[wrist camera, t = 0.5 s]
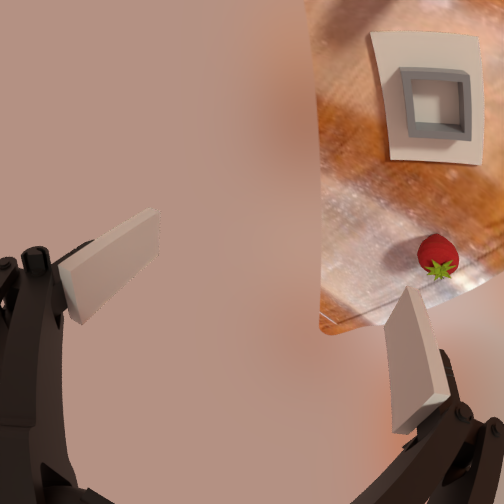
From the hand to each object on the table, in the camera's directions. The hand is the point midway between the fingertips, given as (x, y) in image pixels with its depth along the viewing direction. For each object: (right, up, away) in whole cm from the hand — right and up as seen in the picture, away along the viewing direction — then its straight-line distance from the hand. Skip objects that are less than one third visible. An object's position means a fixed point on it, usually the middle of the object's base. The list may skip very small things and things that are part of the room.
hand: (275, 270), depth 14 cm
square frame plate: (+22, +20, +12) cm, 32 cm away
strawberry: (+30, +4, +27) cm, 40 cm away
